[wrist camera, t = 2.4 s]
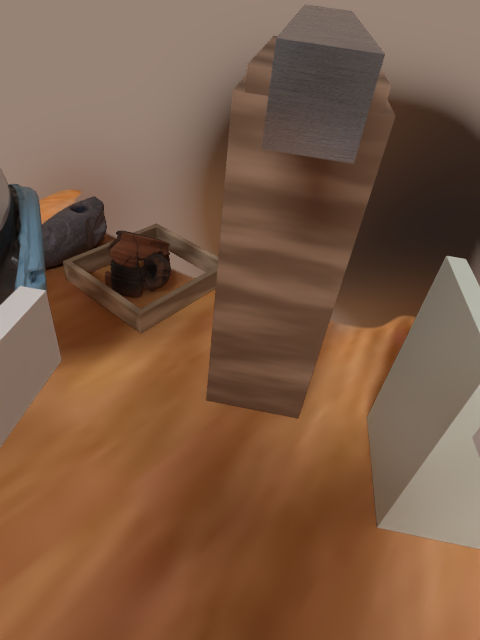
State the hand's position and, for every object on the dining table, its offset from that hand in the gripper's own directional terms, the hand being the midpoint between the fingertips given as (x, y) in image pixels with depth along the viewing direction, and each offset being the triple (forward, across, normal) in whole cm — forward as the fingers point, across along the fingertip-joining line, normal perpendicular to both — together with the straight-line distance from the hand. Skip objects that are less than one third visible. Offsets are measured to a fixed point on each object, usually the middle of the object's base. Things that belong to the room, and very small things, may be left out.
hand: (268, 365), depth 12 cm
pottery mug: (+40, -18, -26) cm, 51 cm away
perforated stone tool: (+43, -30, -26) cm, 59 cm away
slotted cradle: (+16, +17, -27) cm, 36 cm away
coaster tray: (+40, -17, -26) cm, 51 cm away
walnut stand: (+29, 0, -26) cm, 39 cm away
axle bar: (+23, 0, +3) cm, 23 cm away
